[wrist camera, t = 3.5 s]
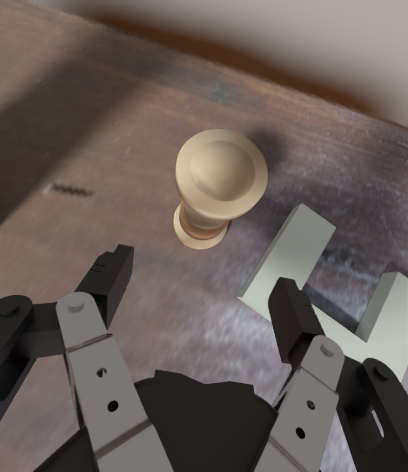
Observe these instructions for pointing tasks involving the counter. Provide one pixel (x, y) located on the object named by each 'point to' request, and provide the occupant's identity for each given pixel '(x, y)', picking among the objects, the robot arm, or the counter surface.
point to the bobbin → (216, 185)
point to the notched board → (299, 268)
